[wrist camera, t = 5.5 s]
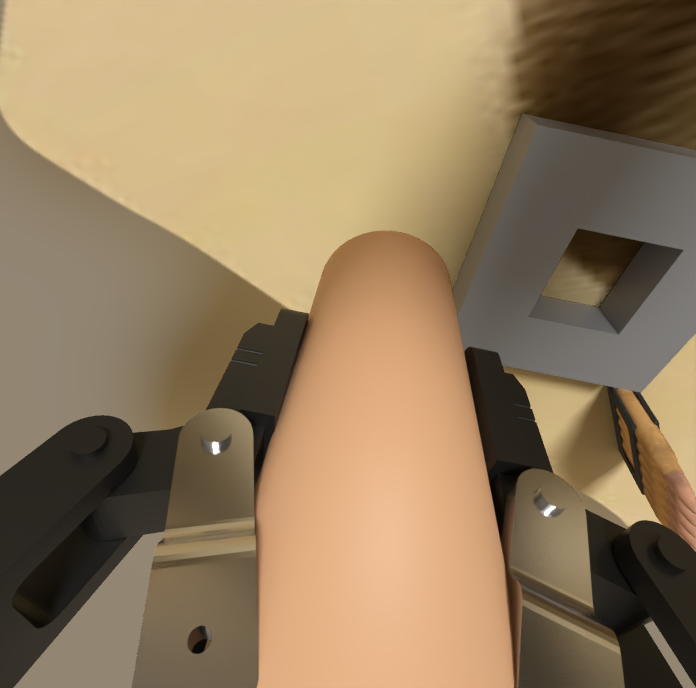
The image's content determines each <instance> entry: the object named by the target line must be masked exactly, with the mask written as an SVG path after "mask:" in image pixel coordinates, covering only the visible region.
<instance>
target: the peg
mask: <svg viewBox="0 0 696 688" xmlns="http://www.w3.org/2000/svg"><path fill="white" fill-rule="evenodd" d="M254 515H255V533H256V565H257V619H258V673H259V679H258V684H257V688H515V672H514V650H513V636H512V622H511V607H510V598H509V590H508V582H507V574H506V568H505V563H504V557H503V552H502V547H501V542H500V537H499V531H498V526H497V521H496V516H495V511H494V505H493V500H492V495H491V490H490V485H489V479H488V474H487V469H486V464H485V458H484V453H483V448H482V443H481V438H480V432H479V427H478V422H477V417H476V412H475V406H474V401H473V396H472V391H471V385H470V380H469V375H468V370H467V365H466V359H465V354H464V349H463V344H462V339H461V333H460V328H459V323H458V318H457V313H456V307H455V302H454V297H453V292H452V286H451V281H450V276H449V273H448V270H447V267H446V265H445V263H444V261H443V260H442V258H441V257H440V256H439V254H438V253H437V252H436V251H435V250H434V249H433V248H432V247H431V246H429V245H428V244H427V243H425V242H424V241H422V240H420V239H419V238H416V237H414V236H412V235H409V234H405V233H402V232H396V231H375V232H369V233H365V234H362V235H359V236H357V237H354V238H352V239H351V240H349V241H347V242H346V243H344V244H343V245H341V246H340V247H339V248H338V249H337V250H336V251H335V252H334V253H333V254H332V256H331V257H330V258H329V260H328V261H327V263H326V265H325V267H324V270H323V272H322V276H321V279H320V282H319V285H318V288H317V292H316V295H315V298H314V301H313V304H312V308H311V311H310V314H309V319H308V324H307V327H306V330H305V334H304V337H303V340H302V343H301V347H300V350H299V353H298V356H297V360H296V363H295V366H294V369H293V373H292V376H291V379H290V382H289V385H288V389H287V392H286V395H285V398H284V402H283V405H282V408H281V411H280V415H279V418H278V421H277V424H276V428H275V431H274V433H273V435H272V437H271V440H270V442H269V445H268V448H267V452H266V455H265V458H264V461H263V464H262V468H261V471H260V474H259V477H258V480H257V484H256V487H255V490H254ZM211 642H212V641H211V640H209V639H208V640H207V644H206V647H205V650H204V651H206V650H207V649H208V647H209V646H210V644H211Z"/></svg>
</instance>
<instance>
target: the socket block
mask: <svg viewBox="0 0 696 688" xmlns="http://www.w3.org/2000/svg"><path fill="white" fill-rule="evenodd" d="M578 228H579V229H583V230H588V231H593V232H598V233H603V234H608V235H613V236H618V237H623V238H628V239H632V240H637V241H642V242H644V243H643V245H642V246H641V248H640V249H639V251H638V252H637V254H636V255H635V257H634V258H633V259H632V261H631V262H630V264H629V265H628V267H627V268H626V270H625V271H624V272H623V274H622V275H621V277H620V278H619V280H618V281H617V283H616V284H615V285H614V287H613V288H612V290H611V291H610V293H609V294H608V296H607V297H606V299H605V300H604V301H603V303H602V304H601V306H600V307H595V306H590V305H585V304H580V303H575V302H570V301H565V300H560V299H555V298H550V297H545V296H540V295H541V293H542V291H543V289H544V288H545V286H546V284H547V282H548V280H549V279H550V277H551V275H552V273H553V272H554V270H555V268H556V266H557V264H558V263H559V261H560V259H561V257H562V256H563V254H564V252H565V250H566V248H567V247H568V245H569V243H570V241H571V239H572V238H573V236H574V234H575V232H576V231H577V229H578ZM452 292H453V297H454V302H455V307H456V313H457V318H458V323H459V328H460V333H461V339H462V344H463V349H464V352H465V350H466V349H467V348H468V347H475V348H480V349H485V350H489V351H494V352H497V353H498V354H499V356H500V359H501V362H502V366H507V367H512V368H517V369H522V370H527V371H532V372H537V373H543V374H548V375H553V376H558V377H563V378H568V379H574V380H579V381H584V382H589V383H594V384H599V385H605V386H610V387H615V388H620V389H625V390H630V391H635V392H642V391H643V390H644V389H645V388H646V386H647V385H648V384H649V383H650V382H651V381H652V380H653V379H654V378H655V377H656V376H657V375H658V374H659V372H660V371H661V370H662V369H663V368H664V367H665V366H666V365H667V364H668V363H669V362H670V361H671V359H672V358H673V357H674V356H675V355H676V354H677V353H678V352H679V351H680V350H681V349H682V348H683V347H684V345H685V344H686V343H687V342H688V341H689V340H690V339H691V338H692V337H693V336H694V335H695V334H696V150H693V149H689V148H684V147H679V146H674V145H670V144H665V143H660V142H655V141H651V140H646V139H641V138H636V137H632V136H627V135H622V134H617V133H613V132H608V131H603V130H599V129H594V128H589V127H584V126H580V125H575V124H570V123H565V122H561V121H556V120H551V119H546V118H542V117H537V116H532V115H527V114H523V113H522V115H521V117H520V120H519V122H518V125H517V127H516V130H515V132H514V135H513V138H512V140H511V143H510V145H509V148H508V150H507V153H506V155H505V158H504V161H503V163H502V166H501V168H500V171H499V173H498V176H497V178H496V181H495V184H494V186H493V189H492V191H491V194H490V196H489V199H488V201H487V204H486V207H485V209H484V212H483V214H482V217H481V219H480V222H479V225H478V227H477V230H476V232H475V235H474V237H473V240H472V242H471V245H470V248H469V250H468V253H467V255H466V258H465V260H464V263H463V265H462V268H461V271H460V273H459V276H458V278H457V281H456V283H455V286H454V288H453V291H452Z"/></svg>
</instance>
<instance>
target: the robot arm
mask: <svg viewBox="0 0 696 688" xmlns="http://www.w3.org/2000/svg"><path fill="white" fill-rule="evenodd" d="M308 319H309V314H308V313H303V312H298V311H293V310H288V309H284V308H282V309H281V310H280V312H279V315H278V317H277V320H276V322H275V325H274V326H272V325H267V324H262V323H258V324H256V325H255V326H253V327H252V328H251V329H249V330H248V331H247V332H245V333H244V335H243V337H242V339H241V341H240V343H239V345H238V347H237V350H236V351H235V353H234V355H233V357H232V360H231V362H230V363H229V365H228V367H227V369H226V371H225V373H224V375H223V377H222V379H221V381H220V383H219V385H218V387H217V389H216V391H215V393H214V395H213V397H212V399H211V401H210V403H209V405H208V407H207V409H206V410H205V411H202V412H200V413H198V414H196V415H194V416H193V417H192V418H190V419H189V420H188V421H187V422H186V423H185V425H184V426H181V427H178V428H174V429H169V430H160V431H149V432H137V433H132V430H131V428H130V426H129V425H128V424H127V423H126V422H124V421H123V420H121V419H119V418H116V417H112V416H104V415H103V416H92V417H87V418H83V419H80V420H78V421H75V422H73V423H71V424H69V425H67V426H66V427H64V428H63V429H61V430H60V431H59V432H58V433H56V434H55V435H53V436H52V437H51V438H49V439H48V440H47V441H45V442H44V443H43V444H42V445H40V446H39V447H38V448H36V449H35V450H34V451H32V452H31V453H30V454H28V455H27V456H26V457H25V458H23V459H22V460H21V461H19V462H18V463H17V464H15V465H14V466H13V467H11V468H10V469H9V470H7V471H6V472H5V473H4V474H2V475H1V476H0V688H13V687H14V686H15V685H16V684H17V683H18V682H19V680H20V679H21V678H22V677H23V676H24V674H25V673H26V672H27V671H28V670H29V669H30V667H31V666H32V665H33V664H34V662H36V660H37V659H38V658H39V657H40V656H41V654H42V653H43V652H44V651H45V650H46V649H47V647H48V646H49V645H50V644H51V643H52V642H53V640H54V639H55V638H56V637H57V636H58V634H59V633H60V632H61V631H62V630H63V629H64V627H65V626H66V625H67V624H68V623H69V622H70V620H71V619H72V618H73V617H74V616H75V614H76V613H77V612H78V611H79V610H80V609H81V607H82V606H83V605H84V604H85V603H86V602H87V600H88V599H89V598H90V597H91V596H92V594H93V593H94V592H95V591H96V590H97V589H98V587H99V586H100V585H101V584H102V583H103V581H104V580H105V579H106V578H107V577H108V576H109V574H110V573H111V572H112V571H113V570H114V568H115V567H116V566H117V565H118V564H119V563H120V561H121V560H122V559H123V558H124V557H125V556H126V554H127V553H128V552H129V551H130V550H131V549H132V547H133V546H134V545H135V544H136V543H137V541H138V540H139V539H140V538H141V537H142V536H143V535H144V534H150V533H156V532H163V531H165V532H164V536H163V539H162V541H161V542H159V543H158V545H157V547H156V550H155V553H154V557H153V561H152V567H151V572H150V579H149V585H148V591H147V597H146V603H145V610H144V615H143V622H142V628H141V634H140V641H139V646H138V652H137V658H136V665H135V671H134V677H133V683H132V688H257V684H258V679H259V673H258V619H257V565H256V533H255V515H254V490H255V487H256V484H257V480H258V477H259V474H260V471H261V468H262V464H263V461H264V458H265V455H266V452H267V448H268V445H269V442H270V440H271V437H272V435H273V433H274V431H275V428H276V424H277V421H278V418H279V415H280V411H281V408H282V405H283V402H284V398H285V395H286V392H287V389H288V385H289V382H290V379H291V376H292V373H293V369H294V366H295V363H296V360H297V356H298V353H299V350H300V347H301V343H302V340H303V337H304V334H305V330H306V327H307V324H308ZM464 354H465V359H466V365H467V370H468V375H469V380H470V385H471V391H472V396H473V401H474V406H475V412H476V417H477V422H478V427H479V432H480V438H481V443H482V448H483V453H484V458H485V464H486V469H487V474H488V479H489V485H490V490H491V495H492V500H493V505H494V511H495V516H496V521H497V526H498V531H499V537H500V542H501V547H502V552H503V557H504V563H505V568H506V574H507V582H508V590H509V598H510V607H511V622H512V636H513V650H514V672H515V688H683V687H682V686H681V684H680V682H679V681H678V679H677V678H676V676H675V674H674V673H673V671H672V670H671V668H670V666H669V665H668V663H667V661H666V660H665V658H664V657H663V655H662V653H661V652H660V650H659V649H658V647H657V645H656V644H655V642H654V641H653V639H652V637H651V636H650V634H649V633H648V631H647V629H646V628H645V626H644V625H645V624H647V623H649V622H651V621H654V623H655V624H656V626H657V627H658V629H659V631H660V632H661V634H662V635H663V637H664V638H665V640H666V641H667V643H668V645H669V646H670V647H671V649H672V651H673V652H674V654H675V655H676V657H677V658H678V660H679V662H680V663H681V665H682V666H683V668H684V669H685V671H686V673H687V674H688V676H689V677H690V679H691V680H692V682H693V683H694V685H695V687H696V552H695V550H694V549H693V548H692V547H691V546H690V545H689V544H688V543H687V542H686V541H685V540H684V539H683V538H682V537H680V536H679V535H678V534H677V533H675V532H674V531H672V530H671V529H669V528H667V527H666V526H663V525H661V524H659V523H656V522H653V521H647V520H643V521H638V522H636V523H634V524H633V525H632V526H630V527H629V528H628V529H625V528H623V527H621V526H618V525H617V524H614V523H612V522H610V521H608V520H606V519H604V518H602V517H600V516H598V515H596V514H594V513H592V512H590V511H588V510H586V509H585V508H584V505H583V503H582V500H581V499H580V497H579V495H578V494H577V493H576V491H575V490H574V489H573V488H572V487H571V486H570V485H569V484H568V483H567V482H566V481H564V480H563V479H562V478H560V477H559V476H557V475H555V474H554V473H553V471H552V468H551V465H550V462H549V459H548V456H547V453H546V450H545V447H544V444H543V441H542V438H541V435H540V432H539V429H538V426H537V423H536V422H535V417H534V414H533V411H532V409H530V406H531V405H530V402H529V400H528V397H527V394H526V391H525V389H524V388H523V386H522V385H521V384H520V383H519V381H518V380H517V379H516V378H515V376H514V375H513V374H509V373H504V369H503V366H502V362H501V359H500V356H499V354H498V353H497V352H494V351H489V350H485V349H480V348H475V347H468V348H467V349H466V350H465V352H464ZM208 639H209V640H211V641H212V642H211V644H210V646H209V647H208V649H207V650H206V651H204V650H205V647H206V644H207V640H208Z"/></svg>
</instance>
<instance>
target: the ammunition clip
mask: <svg viewBox="0 0 696 688" xmlns="http://www.w3.org/2000/svg"><path fill="white" fill-rule="evenodd" d="M607 389H608V394H609V399H610V405H611V410H612V415H613V421H614V426H615V431H616V437H617V442H618V447H619V451H620V453H621V455H622V457H623V459H624V461H625V463H626V465H627V466H628V468H629V470H630V472H631V474H632V476H633V478H634V480H635V482H636V484H637V485H638V487H639V489H640V491H641V493H642V494H643V495H645V496H646V498H647V500H648V502H649V503H650V505H651V507H652V509H653V511H654V513H655V515H656V517H657V518H658V520H659V521H660V522H661V523H662V525H663V526H666V527H667V528H669V529H671V530H672V531H674V532H675V533H677V534H678V535H679V536H680V537H682V538H683V539H684V540H685V541H686V542H687V543H688V544H689V545H690V546H691V547H692V548H693V549H694V550H695V552H696V497H695V495H694V492H693V490H692V488H691V486H690V484H689V482H688V480H687V479H686V477H685V475H684V473H683V471H682V469H681V467H680V466H679V464H678V461H677V458H676V456H675V453H674V452H673V450H672V449H671V447H670V445H669V444H668V442H667V441H666V439H665V437H664V436H663V434H662V433H661V431H660V428H659V422H658V420H657V419H656V417H655V416H654V414H653V412H652V411H651V409H650V408H649V406H648V405H647V403H646V401H645V400H644V398H643V397H642V395H641V394H640V392H635V391H630V390H625V389H620V388H615V387H610V386H607Z"/></svg>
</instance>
